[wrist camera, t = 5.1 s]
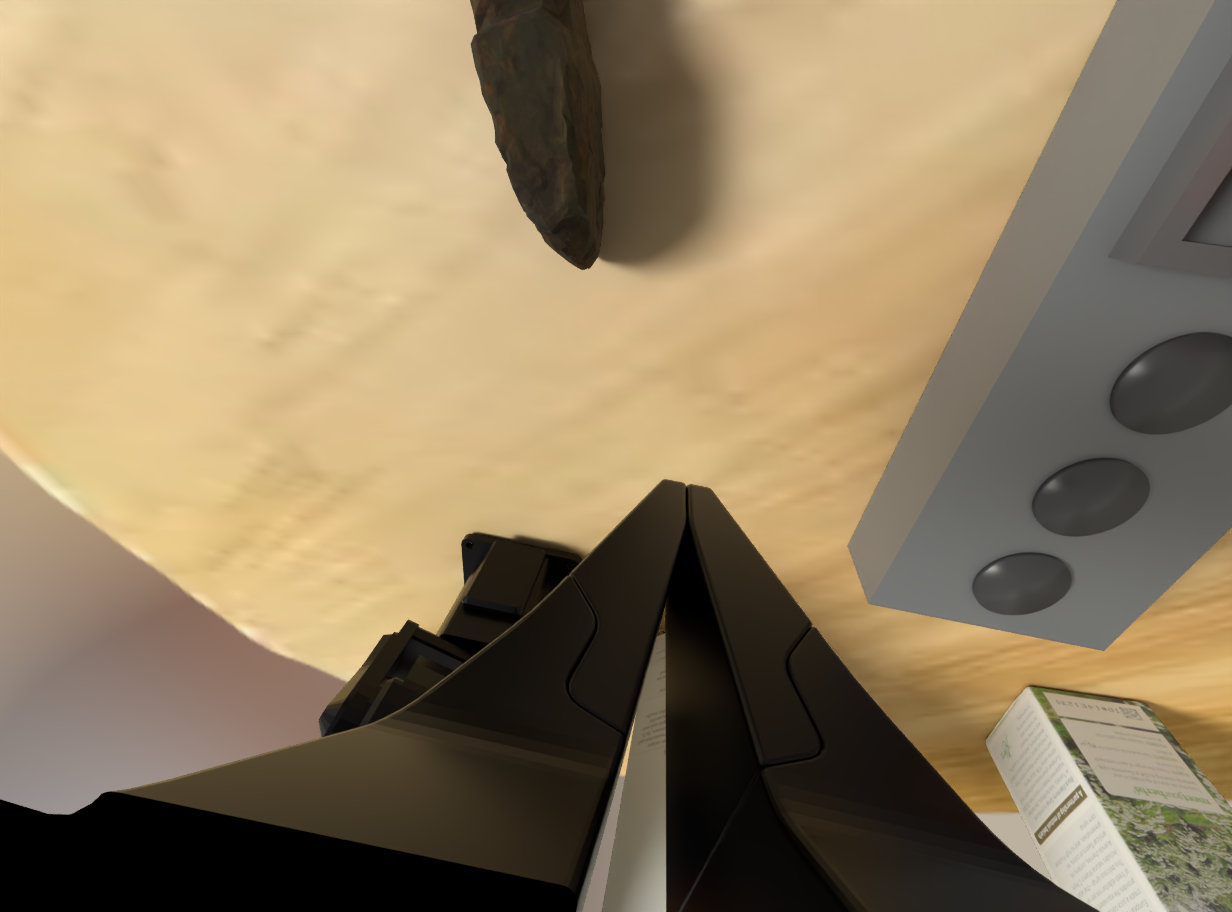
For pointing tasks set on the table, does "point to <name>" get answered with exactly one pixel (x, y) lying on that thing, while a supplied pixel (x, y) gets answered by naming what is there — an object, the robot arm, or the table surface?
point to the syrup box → (1115, 803)
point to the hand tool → (546, 116)
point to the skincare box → (643, 805)
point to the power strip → (1084, 363)
